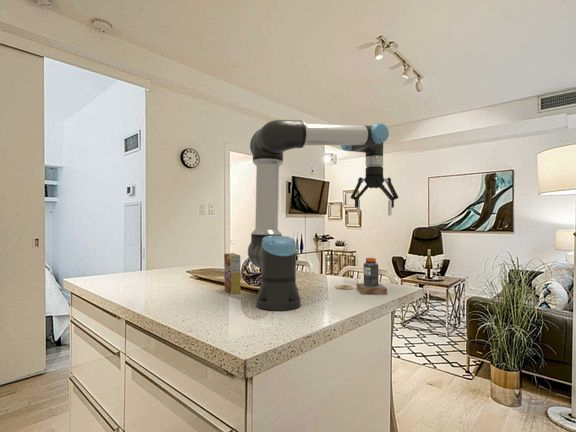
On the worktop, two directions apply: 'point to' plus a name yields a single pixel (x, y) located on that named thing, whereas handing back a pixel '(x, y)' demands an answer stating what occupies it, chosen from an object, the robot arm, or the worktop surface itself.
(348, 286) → the cork coaster
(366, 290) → the walnut stand
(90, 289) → the worktop surface
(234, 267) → the candy box
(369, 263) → the pill bottle
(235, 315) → the worktop surface
